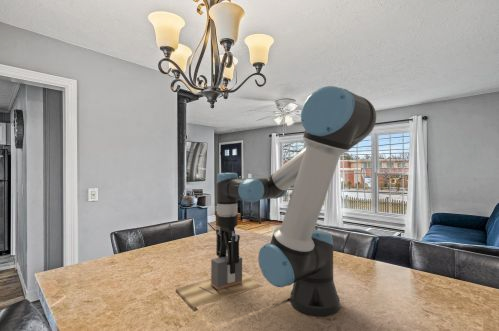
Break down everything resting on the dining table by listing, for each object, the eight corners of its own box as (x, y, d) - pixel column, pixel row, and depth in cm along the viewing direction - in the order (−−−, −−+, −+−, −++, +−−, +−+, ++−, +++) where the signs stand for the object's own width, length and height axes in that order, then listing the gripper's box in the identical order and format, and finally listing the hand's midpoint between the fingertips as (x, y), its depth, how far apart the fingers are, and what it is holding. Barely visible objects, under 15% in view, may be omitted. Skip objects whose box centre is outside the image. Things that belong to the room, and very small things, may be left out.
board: (262, 288, 93) (262, 285, 93) (194, 310, 78) (194, 307, 78) (238, 274, 107) (238, 271, 107) (175, 291, 92) (175, 288, 92)
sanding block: (234, 278, 99) (234, 254, 100) (242, 282, 95) (242, 258, 96) (211, 284, 94) (211, 259, 94) (217, 289, 90) (218, 263, 90)
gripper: (249, 217, 90) (249, 285, 89) (224, 211, 105) (224, 269, 104) (230, 219, 86) (230, 291, 85) (207, 212, 101) (206, 273, 100)
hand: (227, 279), depth 95 cm, fingers closed on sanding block, 5 cm apart
